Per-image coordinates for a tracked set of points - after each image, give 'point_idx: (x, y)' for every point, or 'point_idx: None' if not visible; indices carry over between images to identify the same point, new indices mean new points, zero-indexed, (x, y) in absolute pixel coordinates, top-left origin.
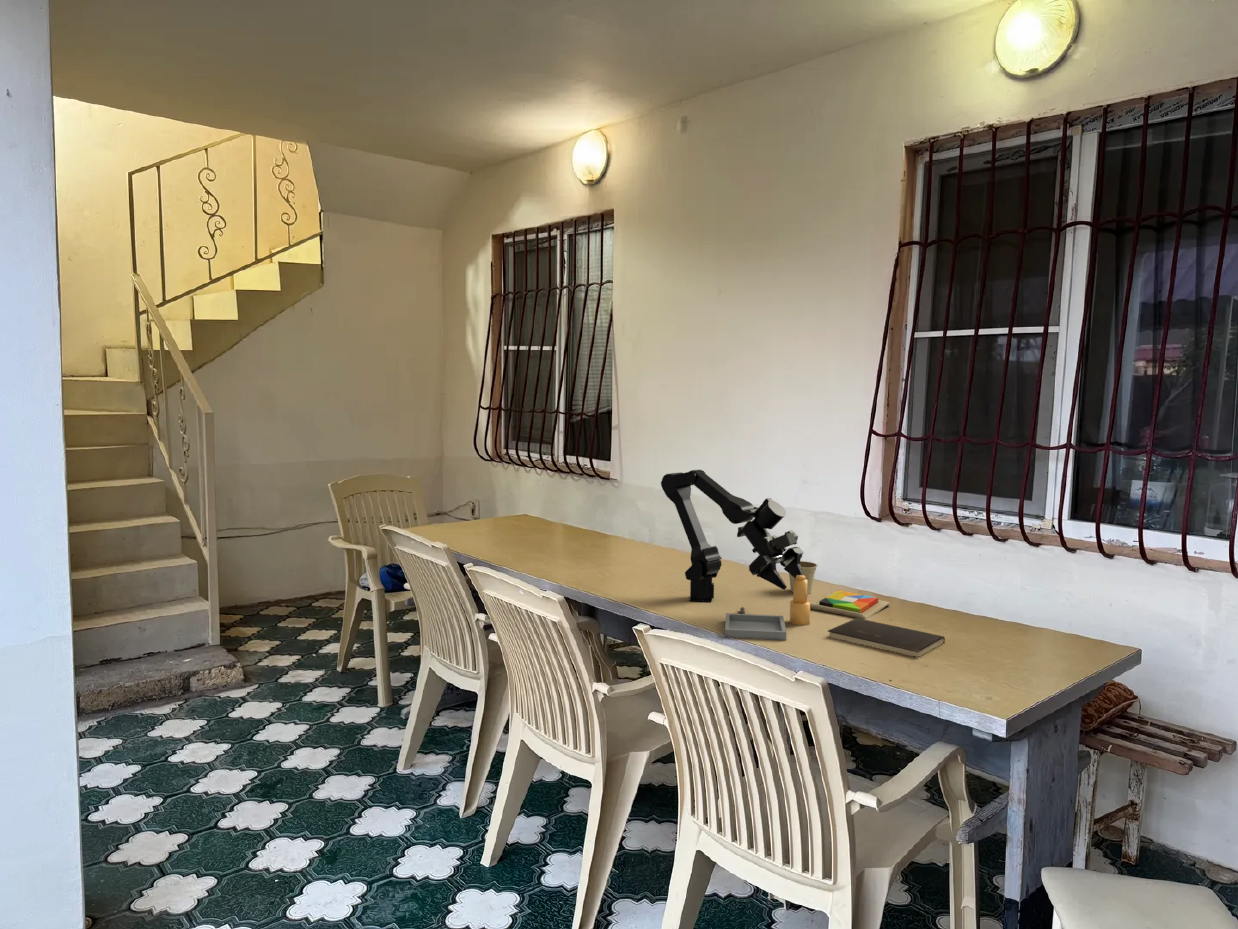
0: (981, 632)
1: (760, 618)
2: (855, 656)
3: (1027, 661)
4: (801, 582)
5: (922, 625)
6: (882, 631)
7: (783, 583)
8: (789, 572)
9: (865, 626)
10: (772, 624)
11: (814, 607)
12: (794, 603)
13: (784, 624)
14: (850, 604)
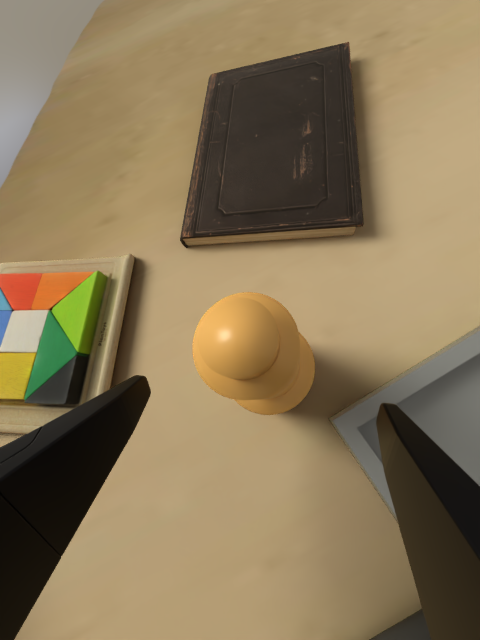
0: (115, 97)
1: None
2: (457, 117)
3: (230, 3)
4: (287, 314)
5: (120, 163)
6: (261, 142)
7: (417, 429)
8: (60, 548)
9: (247, 184)
10: None
11: None
12: (310, 373)
13: (447, 352)
14: (66, 307)
